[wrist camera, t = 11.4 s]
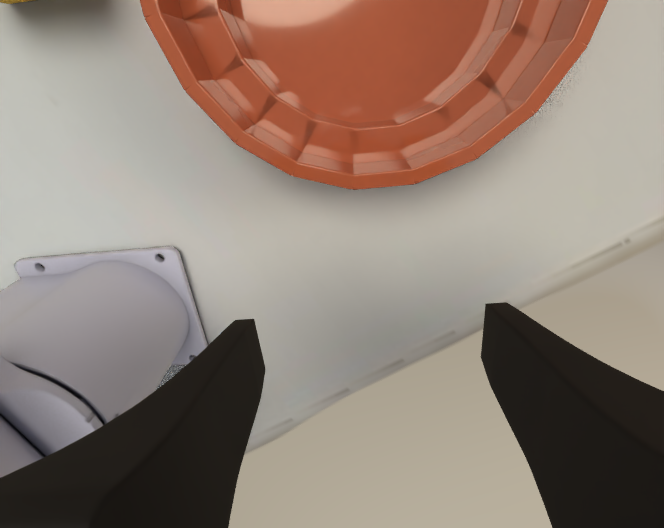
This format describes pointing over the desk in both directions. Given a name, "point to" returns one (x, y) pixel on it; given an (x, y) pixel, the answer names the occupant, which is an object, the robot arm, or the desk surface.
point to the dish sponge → (14, 1)
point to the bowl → (370, 77)
